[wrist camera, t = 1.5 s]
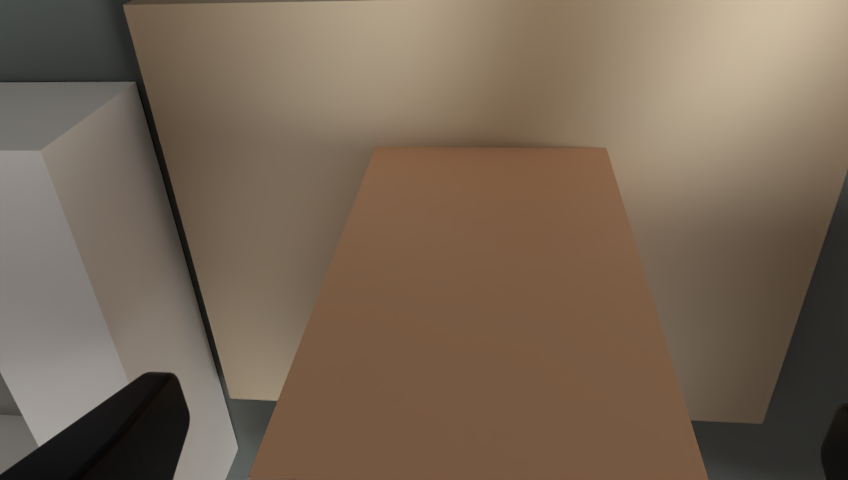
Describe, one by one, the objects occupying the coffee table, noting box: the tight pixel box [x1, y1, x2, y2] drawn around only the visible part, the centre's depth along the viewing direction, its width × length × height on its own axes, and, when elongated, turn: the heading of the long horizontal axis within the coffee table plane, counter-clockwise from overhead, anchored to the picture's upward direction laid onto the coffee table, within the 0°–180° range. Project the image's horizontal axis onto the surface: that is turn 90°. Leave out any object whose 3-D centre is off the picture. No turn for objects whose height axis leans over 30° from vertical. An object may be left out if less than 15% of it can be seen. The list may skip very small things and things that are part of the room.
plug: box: [249, 147, 709, 480], centre depth 10 cm, size 4×4×7 cm
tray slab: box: [123, 0, 848, 424], centre depth 13 cm, size 12×9×1 cm
